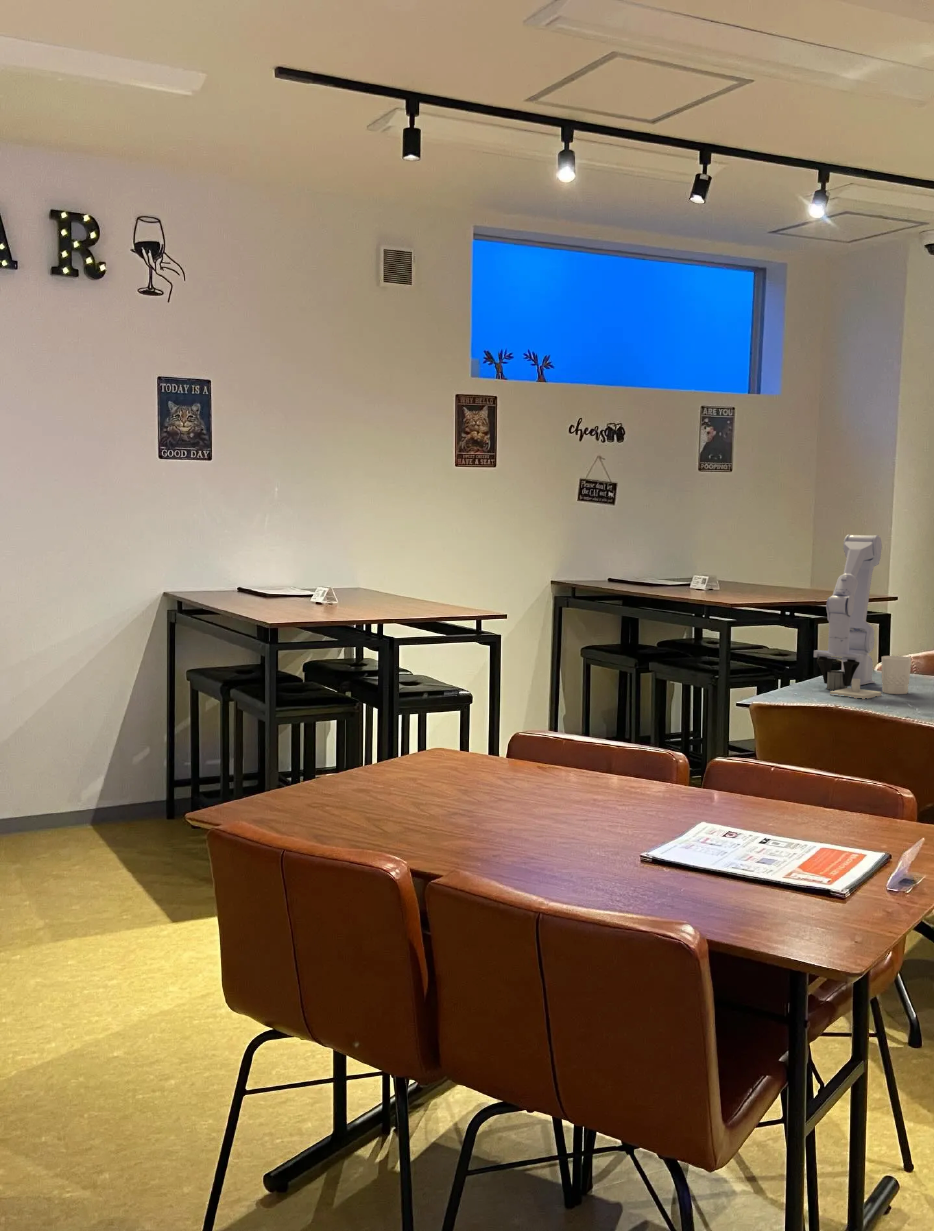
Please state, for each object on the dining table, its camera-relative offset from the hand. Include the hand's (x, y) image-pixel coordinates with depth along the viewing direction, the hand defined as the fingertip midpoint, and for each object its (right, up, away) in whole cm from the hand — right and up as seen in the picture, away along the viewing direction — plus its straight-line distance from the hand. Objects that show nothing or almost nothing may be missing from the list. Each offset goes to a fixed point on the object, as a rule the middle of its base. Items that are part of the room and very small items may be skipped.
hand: (837, 684), depth 343 cm
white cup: (+15, -2, -5) cm, 16 cm away
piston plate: (+2, -2, -10) cm, 11 cm away
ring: (0, -1, 0) cm, 1 cm away
